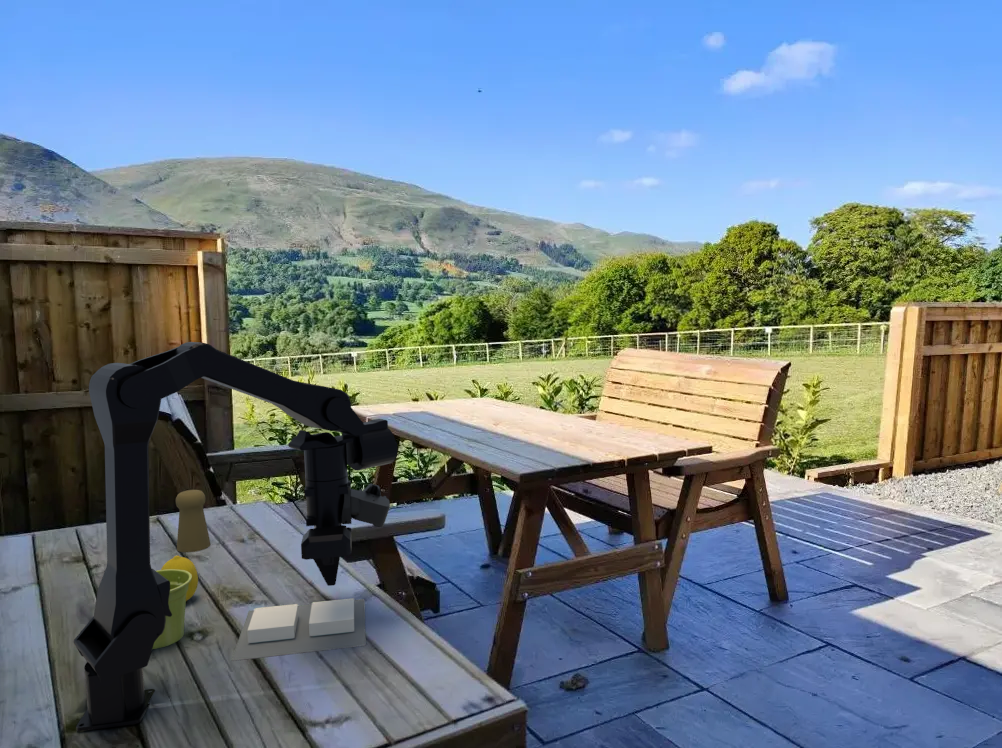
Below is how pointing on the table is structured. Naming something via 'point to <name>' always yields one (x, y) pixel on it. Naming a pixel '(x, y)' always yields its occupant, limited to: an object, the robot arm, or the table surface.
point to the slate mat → (302, 637)
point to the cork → (192, 522)
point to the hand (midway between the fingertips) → (331, 584)
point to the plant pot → (174, 606)
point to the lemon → (188, 566)
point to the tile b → (331, 617)
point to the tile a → (273, 623)
